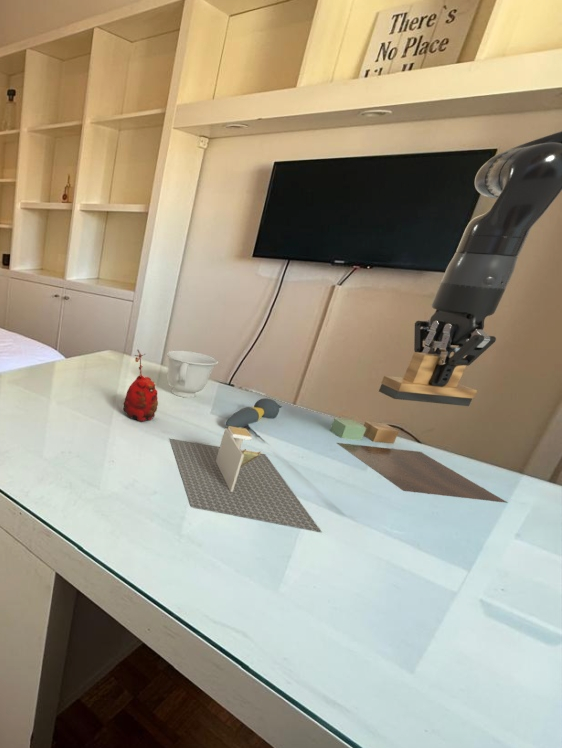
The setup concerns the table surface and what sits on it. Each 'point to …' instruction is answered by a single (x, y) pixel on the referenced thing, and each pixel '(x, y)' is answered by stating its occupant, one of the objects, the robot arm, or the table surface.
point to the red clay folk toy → (141, 397)
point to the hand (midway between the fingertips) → (429, 382)
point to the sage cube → (347, 429)
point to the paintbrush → (254, 413)
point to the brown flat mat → (418, 472)
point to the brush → (427, 383)
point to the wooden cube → (380, 432)
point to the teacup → (188, 372)
